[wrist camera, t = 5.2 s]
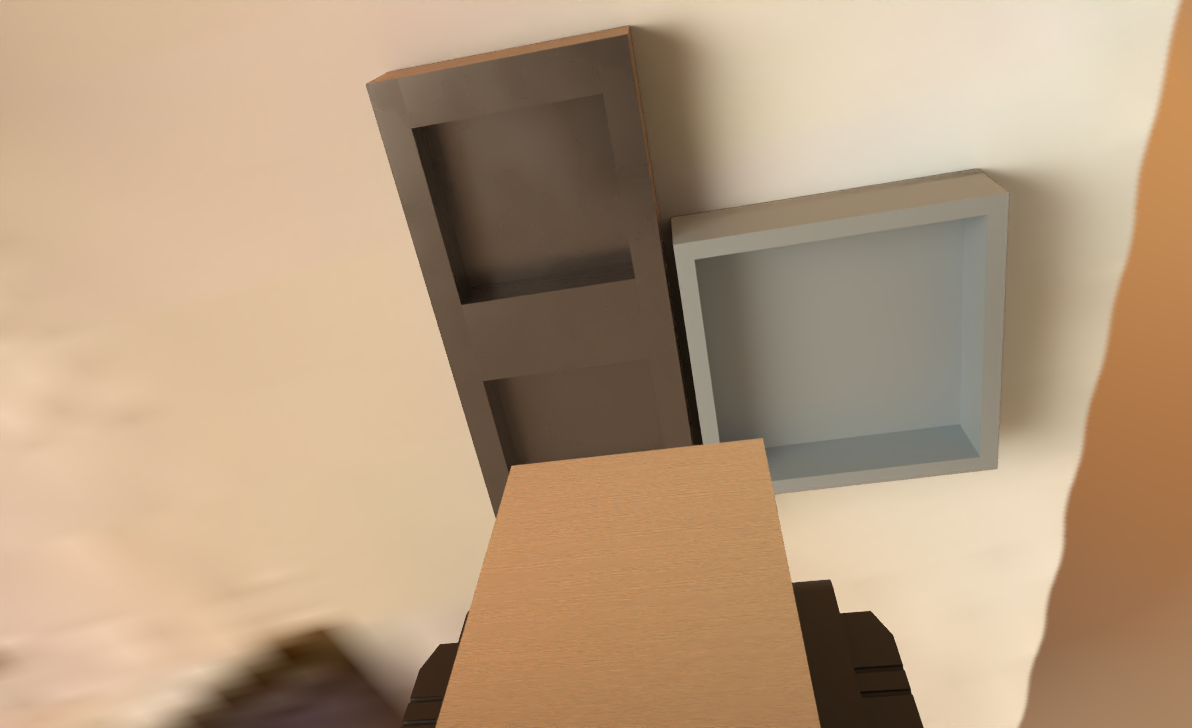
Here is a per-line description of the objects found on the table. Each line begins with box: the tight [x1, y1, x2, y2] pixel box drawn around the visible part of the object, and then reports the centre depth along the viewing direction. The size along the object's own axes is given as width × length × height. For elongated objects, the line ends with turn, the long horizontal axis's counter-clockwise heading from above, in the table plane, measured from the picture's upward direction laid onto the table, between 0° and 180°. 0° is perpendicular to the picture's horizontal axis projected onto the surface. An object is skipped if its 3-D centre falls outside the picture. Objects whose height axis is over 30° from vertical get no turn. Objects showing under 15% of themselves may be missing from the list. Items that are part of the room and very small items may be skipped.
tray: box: [671, 169, 1009, 494], centre depth 29 cm, size 10×10×3 cm
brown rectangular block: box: [436, 438, 821, 728], centre depth 12 cm, size 4×4×6 cm
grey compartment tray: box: [366, 25, 695, 517], centre depth 30 cm, size 18×8×2 cm, turn 11°
